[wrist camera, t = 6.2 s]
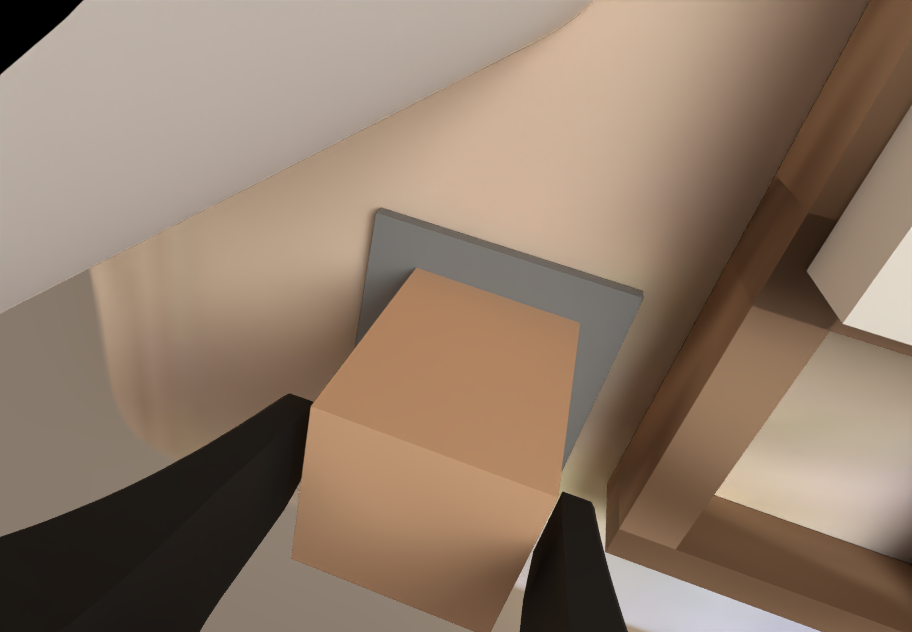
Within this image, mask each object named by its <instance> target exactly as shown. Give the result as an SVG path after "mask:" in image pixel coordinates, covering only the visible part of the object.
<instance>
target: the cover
mask: <svg viewBox="0 0 912 632" xmlns="http://www.w3.org/2000/svg"><path fill="white" fill-rule="evenodd" d="M807 272H808V274H809V275H810V277H811V278H812V280H813V281H814V283H815V284H816V285H817V287H818V288H819V290H820V291H821V293H822V294H823V296H824V297H825V299H826V300H827V302H828V303H829V305H830V306H831V308H832V309H833V310H834V312H835V313H836V315H837V316H838V318H839V319H840V321H841V322H842V324H845V325H848V326H851V327H854V328H858V329H861V330H864V331H867V332H870V333H874V334H877V335H880V336H883V337H886V338H890V339H893V340H896V341H899V342H902V343H906V344H909V345H912V105H911V107H910V109H909V110H908V112H907V113H906V115H905V116H904V118H903V120H902V121H901V123H900V124H899V126H898V128H897V129H896V131H895V132H894V134H893V135H892V137H891V139H890V140H889V142H888V143H887V145H886V146H885V148H884V150H883V151H882V153H881V154H880V156H879V157H878V159H877V161H876V162H875V164H874V165H873V167H872V169H871V170H870V172H869V173H868V175H867V176H866V178H865V180H864V181H863V183H862V184H861V186H860V187H859V189H858V191H857V192H856V194H855V195H854V197H853V199H852V200H851V202H850V203H849V205H848V206H847V208H846V210H845V211H844V213H843V214H842V216H841V217H840V219H839V221H838V222H837V224H836V225H835V227H834V228H833V230H832V232H831V233H830V235H829V236H828V238H827V240H826V241H825V243H824V244H823V246H822V247H821V249H820V251H819V252H818V254H817V255H816V257H815V258H814V260H813V262H812V263H811V265H810V266H809V268H808V270H807Z"/></svg>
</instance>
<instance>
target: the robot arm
mask: <svg viewBox="0 0 912 632" xmlns="http://www.w3.org/2000/svg"><path fill="white" fill-rule="evenodd" d="M313 403H314V402H312V401H309V400H306V399H304V398H301V397H298V396H295V395H293V394H287V395H285V396H283V397H282V398H280V399H279V400H277V401H276V402H274V403H273V404H271V405H270V406H268V407H267V408H265V409H264V410H262V411H261V412H259V413H257V414H256V415H254V416H253V417H251V418H250V419H248V420H246V421H245V422H243V423H242V424H240V425H239V426H237V427H235V428H234V429H232V430H231V431H229V432H227V433H226V434H224V435H222V436H221V437H219V438H217V439H216V440H214V441H212V442H210V443H209V444H207V445H205V446H204V447H202V448H200V449H199V450H197V451H195V452H193V453H192V454H190V455H188V456H186V457H184V458H182V459H180V460H179V461H177V462H175V463H173V464H171V465H169V466H167V467H166V468H164V469H162V470H160V471H158V472H156V473H154V474H152V475H150V476H148V477H146V478H144V479H142V480H140V481H138V482H136V483H134V484H132V485H130V486H128V487H126V488H124V489H121V490H119V491H117V492H115V493H113V494H111V495H109V496H106V497H104V498H101V499H99V500H97V501H95V502H92V503H89V504H87V505H85V506H82V507H80V508H77V509H75V510H73V511H70V512H68V513H65V514H63V515H60V516H58V517H55V518H52V519H50V520H48V521H45V522H42V523H39V524H37V525H34V526H31V527H28V528H26V529H22V530H19V531H16V532H13V533H11V534H8V535H4V536H1V537H0V632H200V630H201V628H202V627H203V625H204V623H205V622H206V620H207V618H208V617H209V615H210V614H211V612H212V611H213V609H214V608H215V606H216V605H217V603H218V602H219V600H220V599H221V597H222V596H223V595H224V593H225V592H226V590H227V589H228V588H229V586H230V585H231V583H232V582H233V581H234V579H235V578H236V576H237V575H238V574H239V572H240V571H241V569H242V568H243V567H244V565H245V564H246V563H247V561H248V560H249V558H250V557H251V556H252V554H253V553H254V551H255V550H256V549H257V547H258V546H259V544H260V543H261V542H262V540H263V539H264V537H265V536H266V535H267V533H268V532H269V530H270V529H271V528H272V526H273V525H274V523H275V522H276V520H277V519H278V518H279V516H280V515H281V513H282V512H283V511H284V509H285V507H286V506H287V504H288V502H289V500H290V499H291V497H292V495H293V493H294V492H295V490H296V488H297V486H298V484H299V482H300V481H301V479H302V471H303V464H304V456H305V448H306V440H307V432H308V425H309V417H310V409H311V405H312V404H313ZM520 632H628V631H627V628H626V625H625V622H624V619H623V616H622V613H621V609H620V606H619V603H618V600H617V596H616V593H615V590H614V587H613V583H612V580H611V576H610V573H609V569H608V565H607V562H606V558H605V554H604V550H603V546H602V542H601V538H600V533H599V529H598V524H597V519H596V514H595V509H594V506H593V504H592V502H590V501H587V500H585V499H582V498H579V497H576V496H573V495H571V494H568V493H565V492H562V494H561V496H560V498H559V500H558V502H557V504H556V506H555V508H554V510H553V512H552V514H551V516H550V518H549V520H548V523H547V525H546V527H545V529H544V531H543V533H542V535H541V537H540V539H539V541H538V543H537V545H536V547H535V549H534V551H533V556H532V560H531V565H530V570H529V574H528V579H527V584H526V589H525V593H524V599H523V606H522V615H521V625H520Z"/></svg>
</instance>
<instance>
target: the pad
mask: <svg viewBox="0 0 912 632" xmlns="http://www.w3.org/2000/svg"><path fill="white" fill-rule="evenodd" d="M416 268H419V269H422V270H425V271H428V272H431V273H434V274H437V275H440V276H443V277H446V278H449V279H451V280H454V281H457V282H460V283H463V284H466V285H469V286H472V287H475V288H478V289H481V290H484V291H487V292H490V293H493V294H496V295H499V296H502V297H505V298H508V299H511V300H513V301H516V302H519V303H522V304H525V305H528V306H531V307H534V308H537V309H540V310H543V311H546V312H549V313H552V314H555V315H558V316H561V317H564V318H567V319H570V320H573V321H576V322H578V323H580V328H579V336H578V344H577V352H576V360H575V368H574V375H573V383H572V391H571V399H570V407H569V415H568V423H567V431H566V439H565V447H564V455H563V463H562V470H563V468H564V466H565V464H566V461H567V459H568V457H569V455H570V453H571V451H572V449H573V447H574V444H575V442H576V440H577V438H578V436H579V434H580V432H581V430H582V427H583V425H584V423H585V421H586V419H587V417H588V415H589V413H590V410H591V408H592V406H593V404H594V402H595V400H596V398H597V396H598V393H599V391H600V389H601V387H602V385H603V383H604V381H605V379H606V377H607V374H608V372H609V370H610V368H611V366H612V364H613V362H614V360H615V357H616V355H617V353H618V351H619V349H620V347H621V345H622V343H623V340H624V338H625V336H626V334H627V332H628V330H629V328H630V326H631V323H632V321H633V319H634V317H635V315H636V313H637V311H638V309H639V306H640V304H641V302H642V300H643V291H641V290H638V289H635V288H632V287H629V286H625V285H622V284H619V283H616V282H613V281H610V280H607V279H603V278H600V277H597V276H594V275H591V274H588V273H585V272H581V271H578V270H575V269H572V268H569V267H566V266H563V265H559V264H556V263H553V262H550V261H547V260H544V259H541V258H538V257H534V256H531V255H528V254H525V253H522V252H519V251H516V250H512V249H509V248H506V247H503V246H500V245H497V244H494V243H490V242H487V241H484V240H481V239H478V238H475V237H472V236H468V235H465V234H462V233H459V232H456V231H453V230H450V229H447V228H443V227H440V226H437V225H434V224H431V223H428V222H425V221H421V220H418V219H415V218H412V217H409V216H406V215H403V214H399V213H396V212H393V211H390V210H387V209H384V208H381V209H380V210H379V211H377V212H376V216H375V223H374V229H373V235H372V242H371V248H370V254H369V261H368V267H367V273H366V280H365V286H364V292H363V299H362V305H361V311H360V318H359V324H358V330H357V337H356V343H355V348H356V346H357V345H358V344H359V342H360V341H361V340H362V338H363V337H364V336H365V334H366V333H367V332H368V330H369V329H370V328H371V326H372V325H373V324H374V323H375V321H376V320H377V319H378V317H379V316H380V315H381V313H382V312H383V311H384V309H385V308H386V307H387V305H388V304H389V303H390V301H391V300H392V299H393V298H394V296H395V295H396V294H397V292H398V291H399V290H400V288H401V287H402V286H403V284H404V283H405V282H406V280H407V279H408V278H409V276H410V275H411V274H412V273H413V271H414V270H415V269H416ZM561 472H562V471H561Z"/></svg>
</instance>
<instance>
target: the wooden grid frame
mask: <svg viewBox="0 0 912 632" xmlns="http://www.w3.org/2000/svg"><path fill="white" fill-rule="evenodd" d="M911 105H912V0H870V2H869V4H868V6H867V8H866V9H865V11H864V13H863V15H862V17H861V19H860V21H859V22H858V24H857V26H856V28H855V30H854V32H853V33H852V35H851V37H850V39H849V41H848V43H847V44H846V46H845V48H844V50H843V52H842V54H841V55H840V57H839V59H838V61H837V63H836V65H835V67H834V68H833V70H832V72H831V74H830V76H829V78H828V79H827V81H826V83H825V85H824V87H823V89H822V90H821V92H820V94H819V96H818V98H817V100H816V101H815V103H814V105H813V107H812V109H811V111H810V112H809V114H808V116H807V118H806V120H805V122H804V124H803V125H802V127H801V129H800V131H799V133H798V135H797V136H796V138H795V140H794V142H793V144H792V146H791V147H790V149H789V151H788V153H787V155H786V157H785V158H784V160H783V162H782V164H781V166H780V168H779V170H778V171H777V173H776V175H775V177H774V179H773V181H772V182H771V184H770V186H769V188H768V190H767V192H766V193H765V195H764V197H763V199H762V201H761V203H760V204H759V206H758V208H757V210H756V212H755V214H754V216H753V217H752V219H751V221H750V223H749V225H748V227H747V228H746V230H745V232H744V234H743V236H742V238H741V239H740V241H739V243H738V245H737V247H736V249H735V250H734V252H733V254H732V256H731V258H730V260H729V261H728V263H727V265H726V267H725V269H724V271H723V273H722V274H721V276H720V278H719V280H718V282H717V284H716V285H715V287H714V289H713V291H712V293H711V295H710V296H709V298H708V300H707V302H706V304H705V306H704V307H703V309H702V311H701V313H700V315H699V317H698V319H697V320H696V322H695V324H694V326H693V328H692V330H691V331H690V333H689V335H688V337H687V339H686V341H685V342H684V344H683V346H682V348H681V350H680V352H679V353H678V355H677V357H676V359H675V361H674V363H673V364H672V366H671V368H670V370H669V372H668V374H667V376H666V377H665V379H664V381H663V383H662V385H661V387H660V388H659V390H658V392H657V394H656V396H655V398H654V399H653V401H652V403H651V405H650V407H649V409H648V410H647V412H646V414H645V416H644V418H643V420H642V422H641V423H640V425H639V427H638V429H637V431H636V433H635V434H634V436H633V438H632V440H631V442H630V444H629V445H628V447H627V449H626V451H625V453H624V455H623V456H622V458H621V460H620V462H619V464H618V466H617V467H616V469H615V471H614V473H613V475H612V477H611V479H610V480H609V482H608V484H607V508H606V544H605V552H607V553H609V554H612V555H615V556H617V557H620V558H623V559H626V560H628V561H631V562H634V563H636V564H639V565H642V566H645V567H647V568H650V569H653V570H656V571H658V572H661V573H664V574H666V575H669V576H672V577H675V578H677V579H680V580H683V581H685V582H688V583H691V584H694V585H696V586H699V587H702V588H704V589H707V590H710V591H713V592H715V593H718V594H721V595H724V596H726V597H729V598H732V599H734V600H737V601H740V602H743V603H745V604H748V605H751V606H753V607H756V608H759V609H762V610H764V611H767V612H770V613H772V614H775V615H778V616H781V617H783V618H786V619H789V620H792V621H794V622H797V623H800V624H802V625H805V626H808V627H811V628H813V629H816V630H819V631H821V632H912V564H911V565H910V564H908V563H905V562H902V561H899V560H896V559H893V558H890V557H888V556H885V555H882V554H879V553H876V552H873V551H871V550H868V549H865V548H862V547H859V546H856V545H853V544H851V543H848V542H845V541H842V540H839V539H836V538H833V537H831V536H828V535H825V534H822V533H819V532H816V531H813V530H811V529H808V528H805V527H802V526H799V525H796V524H794V523H791V522H788V521H785V520H782V519H779V518H776V517H774V516H771V515H768V514H765V513H762V512H759V511H756V510H754V509H751V508H748V507H745V506H742V505H739V504H736V503H734V502H731V501H728V500H725V499H722V498H719V497H717V496H714V494H715V493H716V491H717V490H718V488H719V487H720V486H721V484H722V483H723V481H724V480H725V478H726V477H727V476H728V474H729V473H730V471H731V470H732V469H733V467H734V466H735V464H736V463H737V461H738V460H739V459H740V457H741V456H742V454H743V453H744V451H745V450H746V449H747V447H748V446H749V444H750V443H751V442H752V440H753V439H754V437H755V436H756V434H757V433H758V432H759V430H760V429H761V427H762V426H763V424H764V423H765V422H766V420H767V419H768V417H769V416H770V415H771V413H772V412H773V410H774V409H775V407H776V406H777V405H778V403H779V402H780V400H781V399H782V398H783V396H784V395H785V393H786V392H787V390H788V389H789V388H790V386H791V385H792V383H793V382H794V380H795V379H796V378H797V376H798V375H799V373H800V372H801V371H802V369H803V368H804V366H805V365H806V363H807V362H808V361H809V359H810V358H811V356H812V355H813V353H814V352H815V351H816V349H817V348H818V346H819V345H820V344H821V342H822V341H823V339H824V338H825V336H826V335H827V334H828V332H829V331H832V332H836V333H839V334H842V335H845V336H848V337H852V338H855V339H858V340H861V341H864V342H867V343H871V344H874V345H877V346H880V347H883V348H886V349H890V350H893V351H896V352H899V353H902V354H905V355H909V356H912V345H909V344H906V343H902V342H899V341H896V340H893V339H890V338H886V337H883V336H880V335H877V334H874V333H870V332H867V331H864V330H861V329H858V328H854V327H851V326H848V325H845V324H842V322H841V321H840V319H839V318H838V316H837V315H836V313H835V312H834V310H833V309H832V308H831V306H830V305H829V303H828V302H827V300H826V299H825V297H824V296H823V294H822V293H821V291H820V290H819V288H818V287H817V285H816V284H815V283H814V281H813V280H812V278H811V277H810V275H809V274H808V272H807V270H808V268H809V266H810V265H811V263H812V262H813V260H814V258H815V257H816V255H817V254H818V252H819V251H820V249H821V247H822V246H823V244H824V243H825V241H826V240H827V238H828V236H829V235H830V233H831V232H832V230H833V228H834V227H835V225H836V224H837V222H838V221H839V219H840V217H841V216H842V214H843V213H844V211H845V210H846V208H847V206H848V205H849V203H850V202H851V200H852V199H853V197H854V195H855V194H856V192H857V191H858V189H859V187H860V186H861V184H862V183H863V181H864V180H865V178H866V176H867V175H868V173H869V172H870V170H871V169H872V167H873V165H874V164H875V162H876V161H877V159H878V157H879V156H880V154H881V153H882V151H883V150H884V148H885V146H886V145H887V143H888V142H889V140H890V139H891V137H892V135H893V134H894V132H895V131H896V129H897V128H898V126H899V124H900V123H901V121H902V120H903V118H904V116H905V115H906V113H907V112H908V110H909V109H910V107H911Z"/></svg>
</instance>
